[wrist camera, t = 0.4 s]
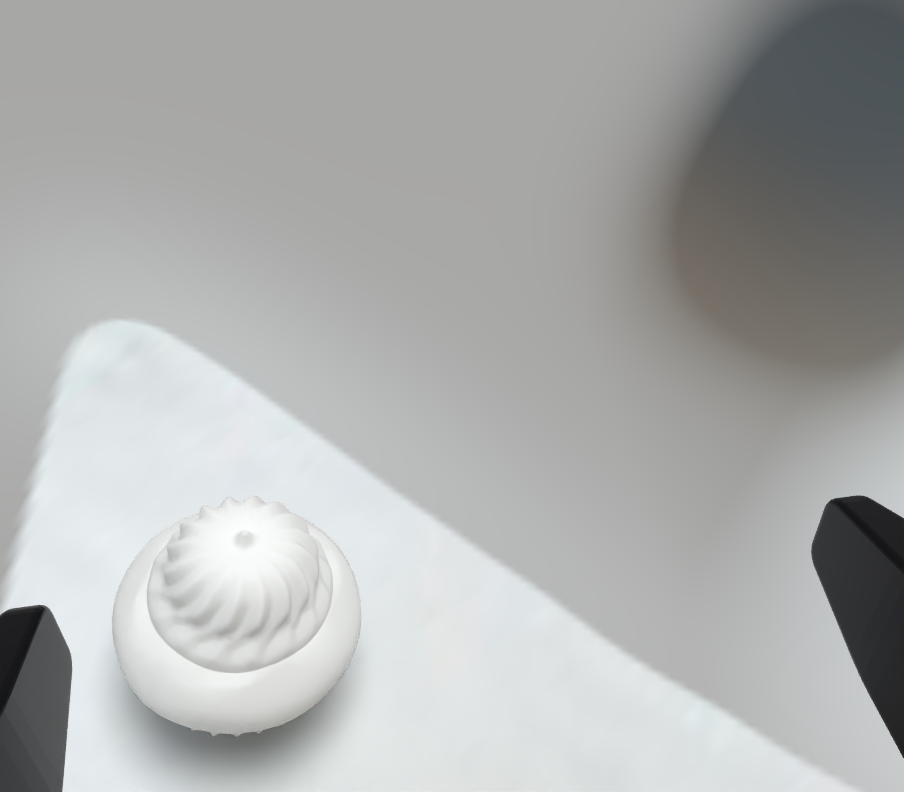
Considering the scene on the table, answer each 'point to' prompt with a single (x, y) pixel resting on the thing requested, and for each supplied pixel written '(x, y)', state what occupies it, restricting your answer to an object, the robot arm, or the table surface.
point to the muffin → (236, 618)
